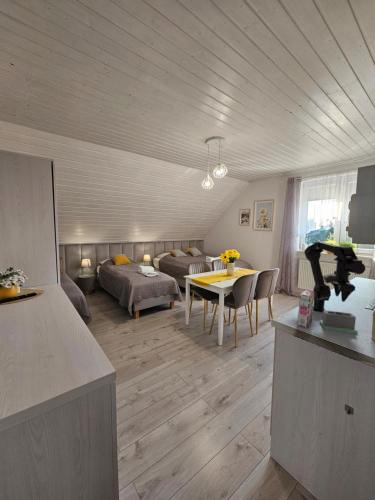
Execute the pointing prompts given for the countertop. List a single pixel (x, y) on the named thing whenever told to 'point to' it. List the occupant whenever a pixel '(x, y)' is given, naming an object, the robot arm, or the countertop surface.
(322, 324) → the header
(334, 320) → the grey cinder block
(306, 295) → the candy bar box
